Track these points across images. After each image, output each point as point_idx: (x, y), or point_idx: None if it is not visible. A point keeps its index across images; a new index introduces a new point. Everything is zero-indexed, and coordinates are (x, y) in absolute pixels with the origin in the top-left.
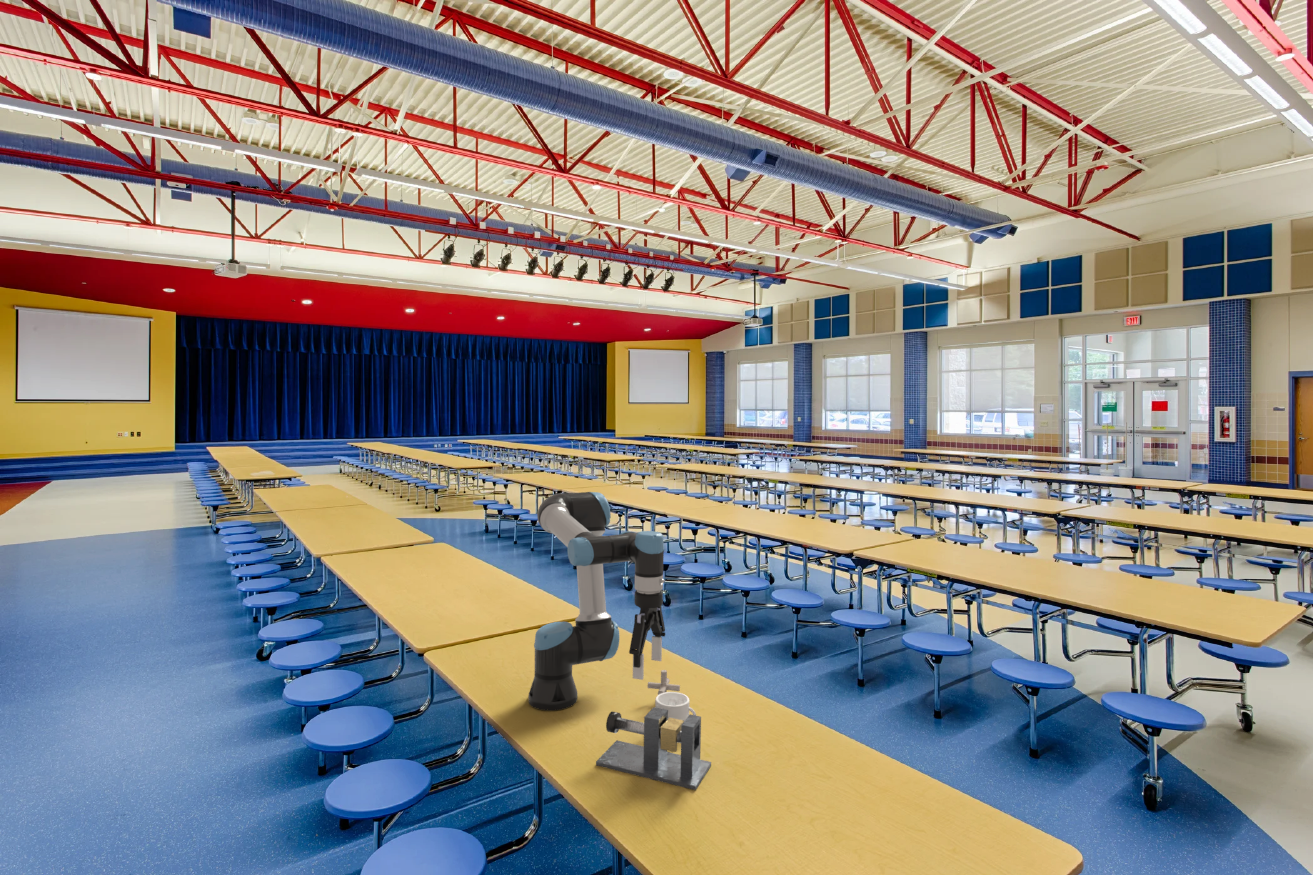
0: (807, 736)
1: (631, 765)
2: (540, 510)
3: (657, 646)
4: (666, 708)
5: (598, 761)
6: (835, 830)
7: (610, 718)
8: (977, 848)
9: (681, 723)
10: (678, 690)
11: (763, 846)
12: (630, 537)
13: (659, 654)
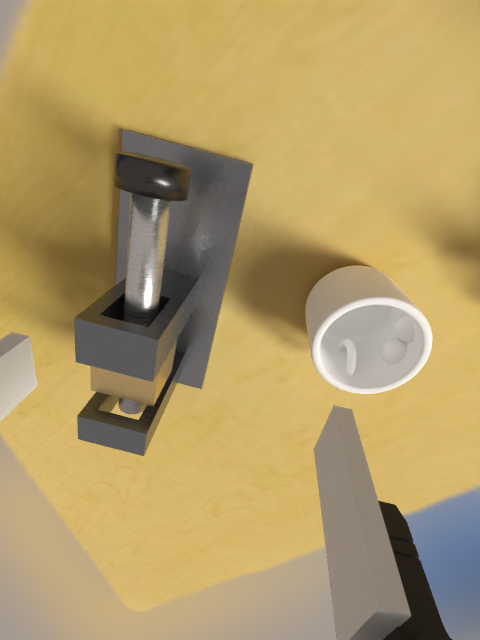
0: None
1: None
2: None
3: (335, 531)
4: (312, 331)
5: (125, 137)
6: (99, 499)
7: (117, 168)
8: (124, 576)
9: (135, 400)
10: None
11: (31, 435)
12: None
13: (320, 482)
